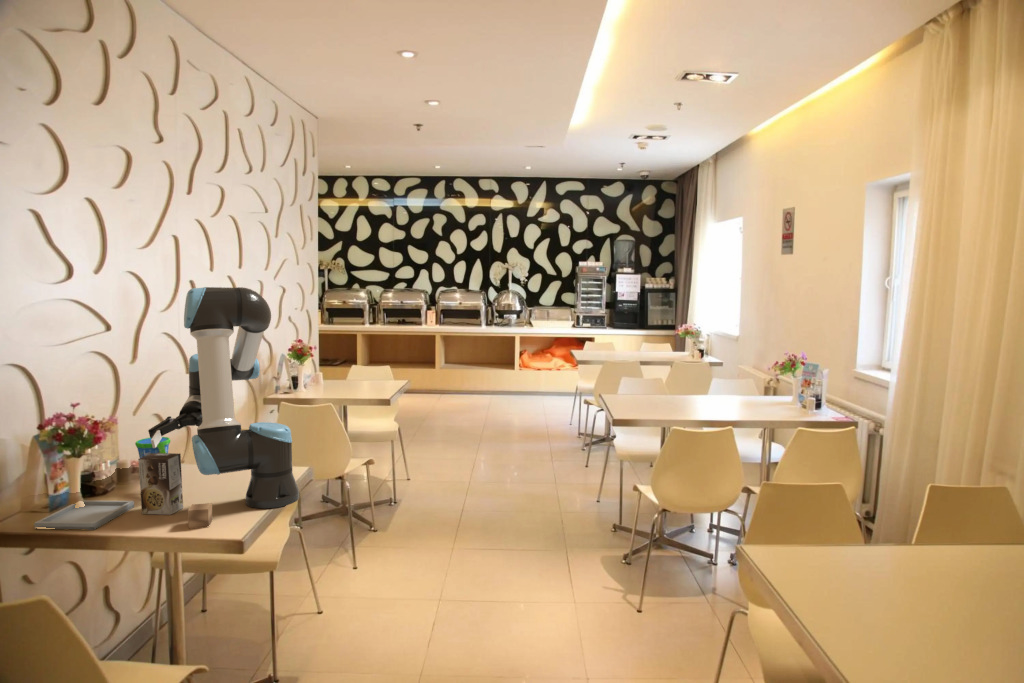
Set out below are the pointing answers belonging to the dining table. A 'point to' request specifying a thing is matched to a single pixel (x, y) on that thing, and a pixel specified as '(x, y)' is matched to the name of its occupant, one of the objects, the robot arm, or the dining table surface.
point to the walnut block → (200, 515)
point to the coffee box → (161, 483)
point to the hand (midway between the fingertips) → (177, 440)
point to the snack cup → (147, 448)
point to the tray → (85, 515)
